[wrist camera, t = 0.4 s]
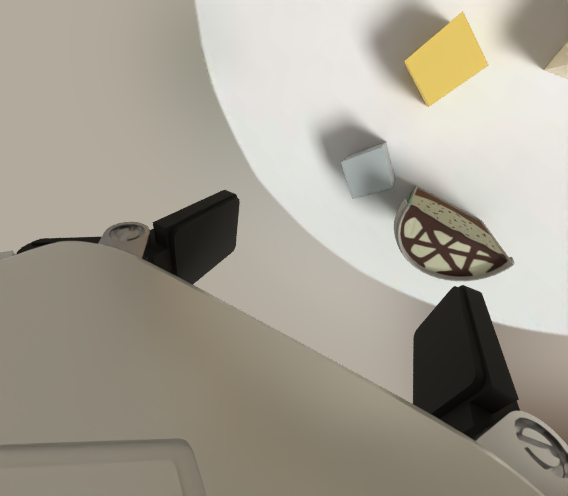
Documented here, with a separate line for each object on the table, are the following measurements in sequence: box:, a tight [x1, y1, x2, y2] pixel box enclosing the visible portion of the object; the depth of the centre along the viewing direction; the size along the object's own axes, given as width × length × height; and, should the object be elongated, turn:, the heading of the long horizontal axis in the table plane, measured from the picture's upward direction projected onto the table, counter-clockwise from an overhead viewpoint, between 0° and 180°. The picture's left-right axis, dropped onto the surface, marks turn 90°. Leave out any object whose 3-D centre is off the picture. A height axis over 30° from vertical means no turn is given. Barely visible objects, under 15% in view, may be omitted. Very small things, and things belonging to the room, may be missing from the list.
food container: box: [394, 186, 514, 281], centre depth 30 cm, size 12×6×10 cm, turn 68°
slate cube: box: [341, 142, 395, 199], centre depth 32 cm, size 5×5×5 cm
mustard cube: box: [405, 12, 488, 107], centre depth 25 cm, size 5×5×5 cm
